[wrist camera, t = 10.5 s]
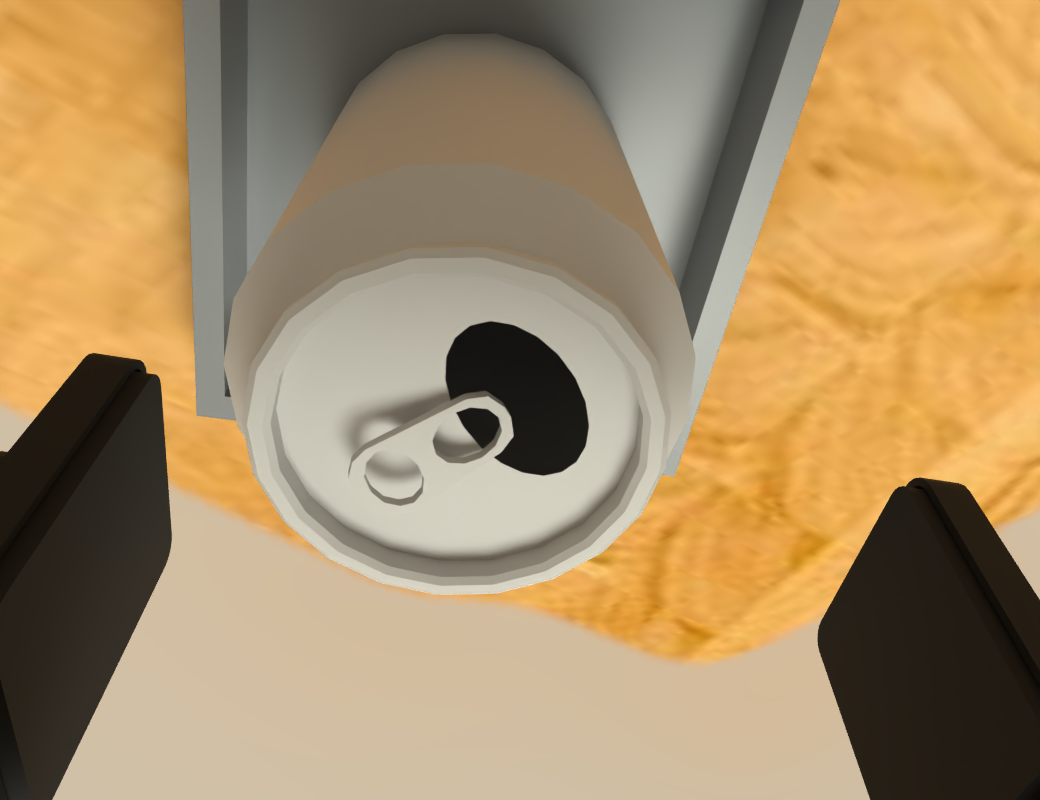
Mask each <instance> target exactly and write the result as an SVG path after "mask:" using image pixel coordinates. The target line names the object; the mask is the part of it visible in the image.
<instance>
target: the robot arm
mask: <svg viewBox="0 0 1040 800" xmlns="http://www.w3.org/2000/svg"><path fill="white" fill-rule="evenodd" d="M171 540H172V532H171V519H170V504H169V490H168V476H167V462H166V448H165V434H164V421H163V407H162V393H161V383H160V379H159V377H158V376H157V375H155V374H148V373H146V367H145V365H144V363H143V362H142V361H140V360H136V359H129V358H122V357H116V356H109V355H103V354H96V353H92V354H89V355H87V356H86V357H85V358H84V359H83V360H82V362H81V363H80V364H79V365H78V367H77V368H76V369H75V370H74V371H73V373H72V374H71V375H70V376H69V378H68V379H67V380H66V381H65V382H64V384H63V385H62V386H61V387H60V389H59V390H58V391H57V392H56V394H55V395H54V396H53V397H52V398H51V400H50V401H49V402H48V403H47V405H46V406H45V407H44V408H43V409H42V411H41V412H40V413H39V414H38V416H37V417H36V418H35V419H34V421H33V422H32V423H31V424H30V425H29V427H28V428H27V429H26V430H25V432H24V433H23V434H22V435H21V437H20V438H19V439H18V440H17V442H16V443H15V444H14V445H13V446H12V448H11V449H10V450H9V451H8V452H4V451H0V800H52V799H53V797H54V795H55V793H56V791H57V789H58V787H59V785H60V783H61V780H62V778H63V776H64V774H65V772H66V770H67V768H68V766H69V764H70V762H71V760H72V757H73V756H74V754H75V752H76V749H77V747H78V745H79V743H80V741H81V739H82V737H83V735H84V733H85V731H86V729H87V727H88V725H89V723H90V720H91V719H92V716H93V714H94V712H95V710H96V708H97V706H98V704H99V702H100V700H101V698H102V696H103V694H104V692H105V689H106V687H107V685H108V683H109V681H110V679H111V677H112V675H113V673H114V671H115V669H116V667H117V665H118V662H119V661H120V659H121V657H122V654H123V652H124V650H125V648H126V646H127V644H128V642H129V640H130V638H131V636H132V633H133V632H134V630H135V628H136V625H137V623H138V621H139V619H140V617H141V615H142V613H143V611H144V609H145V607H146V605H147V603H148V601H149V599H150V597H151V595H152V592H153V590H154V588H155V586H156V584H157V582H158V580H159V578H160V576H161V574H162V572H163V569H164V567H165V565H166V563H167V560H168V557H169V553H170V548H171ZM818 647H819V652H820V654H821V657H822V660H823V663H824V666H825V669H826V672H827V675H828V678H829V681H830V684H831V687H832V689H833V692H834V695H835V698H836V701H837V704H838V707H839V710H840V713H841V715H842V719H843V722H844V724H845V727H846V730H847V733H848V736H849V739H850V742H851V745H852V748H853V750H854V754H855V757H856V759H857V762H858V765H859V768H860V771H861V774H862V777H863V780H864V783H865V786H866V789H867V791H868V794H869V797H870V800H1040V600H1039V598H1038V596H1037V595H1036V593H1035V592H1034V590H1033V589H1032V587H1031V586H1030V584H1029V583H1028V581H1027V579H1026V578H1025V576H1024V575H1023V573H1022V572H1021V570H1020V569H1019V567H1018V565H1017V564H1016V562H1015V561H1014V559H1013V558H1012V556H1011V555H1010V553H1009V551H1008V550H1007V548H1006V547H1005V545H1004V544H1003V542H1002V541H1001V539H1000V538H999V536H998V534H997V533H996V531H995V530H994V528H993V527H992V525H991V524H990V522H989V520H988V519H987V517H986V516H985V514H984V513H983V511H982V510H981V508H980V506H979V505H978V503H977V502H976V500H975V499H974V497H973V496H972V494H971V492H970V491H969V490H968V489H967V488H966V487H965V486H964V485H962V484H959V483H953V482H946V481H940V480H933V479H926V478H914V479H913V480H911V481H910V482H909V483H908V484H907V485H906V487H905V486H902V487H898V488H897V489H895V491H894V492H893V493H892V495H891V497H890V498H889V500H888V502H887V504H886V506H885V507H884V509H883V511H882V513H881V515H880V516H879V518H878V520H877V522H876V524H875V525H874V527H873V529H872V531H871V533H870V534H869V536H868V538H867V540H866V541H865V543H864V545H863V547H862V549H861V550H860V552H859V554H858V556H857V558H856V559H855V561H854V563H853V565H852V567H851V568H850V570H849V572H848V574H847V576H846V577H845V579H844V581H843V583H842V585H841V586H840V588H839V590H838V592H837V594H836V595H835V597H834V599H833V601H832V603H831V604H830V606H829V608H828V610H827V611H826V613H825V615H824V617H823V619H822V620H821V623H820V625H819V630H818Z"/></svg>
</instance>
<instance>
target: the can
mask: <svg viewBox="0 0 1040 800" xmlns="http://www.w3.org/2000/svg"><path fill="white" fill-rule="evenodd" d="M695 359H696V355H695V351H694V347H693V343H692V339H691V335H690V331H689V328H688V324H687V320H686V316H685V312H684V308H683V304H682V300H681V296H680V292H679V290H678V287H677V285H676V282H675V280H674V277H673V275H672V272H671V270H670V267H669V265H668V262H667V260H666V257H665V255H664V252H663V250H662V247H661V245H660V242H659V240H658V237H657V235H656V232H655V230H654V227H653V225H652V222H651V220H650V217H649V215H648V212H647V210H646V207H645V205H644V202H643V200H642V197H641V195H640V192H639V190H638V187H637V185H636V182H635V180H634V177H633V175H632V172H631V170H630V167H629V165H628V162H627V160H626V157H625V155H624V152H623V150H622V147H621V145H620V142H619V140H618V137H617V135H616V132H615V130H614V127H613V125H612V122H611V120H610V119H609V117H608V116H607V114H606V113H605V111H604V110H603V108H602V107H601V105H600V104H599V102H598V101H597V99H596V98H595V96H594V95H593V93H592V92H591V90H590V89H589V87H588V86H587V84H586V83H585V81H584V80H583V79H581V78H580V77H579V76H577V75H576V74H575V73H574V72H572V71H571V70H570V69H568V68H567V67H566V66H564V65H563V64H562V63H560V62H559V61H558V60H557V59H555V58H554V57H553V56H551V55H550V54H549V53H547V52H546V51H545V50H543V49H540V48H537V47H534V46H531V45H528V44H525V43H522V42H519V41H516V40H513V39H510V38H507V37H504V36H501V35H498V34H443V35H440V36H437V37H435V38H432V39H429V40H426V41H424V42H421V43H418V44H415V45H413V46H410V47H407V48H405V49H402V50H399V51H396V52H395V53H394V54H393V55H392V56H390V57H389V58H388V59H387V60H386V61H384V62H383V63H382V64H381V65H380V66H378V67H377V68H376V69H375V70H374V71H372V72H371V73H370V74H369V75H367V76H366V77H365V78H364V79H363V80H361V81H360V82H359V83H358V85H357V86H356V88H355V90H354V91H353V93H352V95H351V97H350V98H349V100H348V102H347V103H346V105H345V107H344V108H343V110H342V112H341V113H340V115H339V117H338V119H337V120H336V122H335V124H334V125H333V127H332V129H331V131H330V132H329V134H328V136H327V137H326V139H325V141H324V143H323V144H322V146H321V148H320V150H319V151H318V153H317V155H316V157H315V158H314V160H313V162H312V164H311V165H310V167H309V169H308V170H307V172H306V174H305V176H304V177H303V179H302V181H301V183H300V184H299V186H298V188H297V190H296V191H295V193H294V195H293V197H292V198H291V200H290V202H289V203H288V205H287V207H286V209H285V210H284V212H283V214H282V216H281V217H280V219H279V221H278V223H277V224H276V226H275V228H274V230H273V231H272V233H271V235H270V236H269V238H268V240H267V242H266V243H265V245H264V247H263V249H262V250H261V252H260V254H259V256H258V257H257V259H256V261H255V262H254V264H253V266H252V268H251V269H250V271H249V273H248V275H247V276H246V278H245V280H244V282H243V283H242V285H241V287H240V289H239V290H238V292H237V294H236V295H235V297H234V299H233V304H232V311H231V318H230V324H229V331H228V338H227V344H226V351H225V357H224V368H225V373H226V377H227V382H228V386H229V390H230V395H231V399H232V404H233V408H234V412H235V417H236V421H237V425H238V427H239V429H240V430H241V432H242V433H243V435H244V437H245V439H246V444H247V448H248V453H249V457H250V462H251V466H252V471H253V475H254V476H255V478H256V479H257V481H258V482H259V484H260V486H261V487H262V489H263V490H264V492H265V493H266V495H267V496H268V498H269V500H270V501H271V503H272V504H273V506H274V507H275V509H276V510H277V512H278V514H279V515H280V517H281V518H282V520H283V521H284V522H285V523H286V524H287V525H288V526H290V527H291V528H292V529H293V530H294V531H296V532H297V533H298V534H299V535H300V536H302V537H303V538H304V539H305V540H306V541H307V542H309V543H310V544H311V545H312V546H313V547H315V548H316V549H317V550H318V551H319V552H321V553H322V554H323V555H324V556H325V557H327V558H328V559H330V560H332V561H335V562H337V563H339V564H341V565H343V566H345V567H347V568H349V569H352V570H354V571H356V572H358V573H360V574H362V575H364V576H366V577H369V578H371V579H373V580H375V581H377V582H379V583H383V584H388V585H393V586H398V587H402V588H407V589H412V590H417V591H422V592H427V593H431V594H436V595H454V594H497V593H501V592H505V591H509V590H513V589H517V588H521V587H525V586H529V585H533V584H537V583H541V582H544V581H548V580H552V579H554V578H556V577H558V576H560V575H562V574H564V573H565V572H567V571H569V570H571V569H573V568H575V567H577V566H578V565H580V564H582V563H584V562H586V561H588V560H590V559H591V558H593V557H595V556H597V555H599V554H601V553H602V552H603V551H604V550H605V549H606V548H608V547H609V546H610V545H611V544H612V543H613V542H614V541H615V540H616V539H617V538H618V537H619V536H620V535H621V534H622V533H623V532H624V531H625V530H626V529H627V528H628V527H629V526H630V525H631V524H632V523H633V522H634V521H635V520H636V519H637V518H638V517H639V516H640V515H641V514H642V512H643V510H644V508H645V506H646V504H647V502H648V500H649V499H650V497H651V495H652V493H653V491H654V489H655V487H656V485H657V483H658V481H659V479H660V477H661V475H662V473H663V471H664V469H665V467H666V460H667V458H668V456H669V454H670V453H671V451H672V449H673V447H674V445H675V443H676V441H677V439H678V437H679V435H680V433H681V431H682V429H683V427H684V425H685V423H686V421H687V419H688V416H689V408H690V400H691V391H692V383H693V375H694V367H695Z"/></svg>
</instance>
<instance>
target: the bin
mask: <svg viewBox="0 0 1040 800" xmlns="http://www.w3.org/2000/svg"><path fill="white" fill-rule="evenodd" d="M839 2H840V0H183V19H184V49H185V79H186V109H187V139H188V169H189V199H190V229H191V259H192V289H193V319H194V349H195V379H196V409H197V416H203V417H211V418H219V419H227V420H235V421H236V417H235V412H234V408H233V404H232V399H231V395H230V390H229V386H228V382H227V377H226V373H225V368H224V357H225V351H226V344H227V338H228V331H229V324H230V318H231V311H232V304H233V299H234V297H235V295H236V294H237V292H238V290H239V289H240V287H241V285H242V283H243V282H244V280H245V278H246V276H247V275H248V273H249V271H250V269H251V268H252V266H253V264H254V262H255V261H256V259H257V257H258V256H259V254H260V252H261V250H262V249H263V247H264V245H265V243H266V242H267V240H268V238H269V236H270V235H271V233H272V231H273V230H274V228H275V226H276V224H277V223H278V221H279V219H280V217H281V216H282V214H283V212H284V210H285V209H286V207H287V205H288V203H289V202H290V200H291V198H292V197H293V195H294V193H295V191H296V190H297V188H298V186H299V184H300V183H301V181H302V179H303V177H304V176H305V174H306V172H307V170H308V169H309V167H310V165H311V164H312V162H313V160H314V158H315V157H316V155H317V153H318V151H319V150H320V148H321V146H322V144H323V143H324V141H325V139H326V137H327V136H328V134H329V132H330V131H331V129H332V127H333V125H334V124H335V122H336V120H337V119H338V117H339V115H340V113H341V112H342V110H343V108H344V107H345V105H346V103H347V102H348V100H349V98H350V97H351V95H352V93H353V91H354V90H355V88H356V86H357V85H358V83H359V82H360V81H361V80H363V79H364V78H365V77H366V76H367V75H369V74H370V73H371V72H372V71H374V70H375V69H376V68H377V67H378V66H380V65H381V64H382V63H383V62H384V61H386V60H387V59H388V58H389V57H390V56H392V55H393V54H394V53H395V52H396V51H399V50H402V49H405V48H407V47H410V46H413V45H415V44H418V43H421V42H424V41H426V40H429V39H432V38H435V37H437V36H440V35H443V34H498V35H501V36H504V37H507V38H510V39H513V40H516V41H519V42H522V43H525V44H528V45H531V46H534V47H537V48H540V49H543V50H545V51H546V52H547V53H549V54H550V55H551V56H553V57H554V58H555V59H557V60H558V61H559V62H560V63H562V64H563V65H564V66H566V67H567V68H568V69H570V70H571V71H572V72H574V73H575V74H576V75H577V76H579V77H580V78H581V79H583V80H584V81H585V83H586V84H587V86H588V87H589V89H590V90H591V92H592V93H593V95H594V96H595V98H596V99H597V101H598V102H599V104H600V105H601V107H602V108H603V110H604V111H605V113H606V114H607V116H608V117H609V119H610V120H611V122H612V125H613V127H614V130H615V132H616V135H617V137H618V140H619V142H620V145H621V147H622V150H623V152H624V155H625V157H626V160H627V162H628V165H629V167H630V170H631V172H632V175H633V177H634V180H635V182H636V185H637V187H638V190H639V192H640V195H641V197H642V200H643V202H644V205H645V207H646V210H647V212H648V215H649V217H650V220H651V222H652V225H653V227H654V230H655V232H656V235H657V237H658V240H659V242H660V245H661V247H662V250H663V252H664V255H665V257H666V260H667V262H668V265H669V267H670V270H671V272H672V275H673V277H674V280H675V282H676V285H677V287H678V290H679V292H680V296H681V300H682V304H683V308H684V312H685V316H686V320H687V324H688V328H689V331H690V335H691V339H692V343H693V347H694V351H695V355H696V359H695V367H694V375H693V383H692V391H691V400H690V408H689V416H688V419H687V421H686V423H685V425H684V427H683V429H682V431H681V433H680V435H679V437H678V439H677V441H676V443H675V445H674V447H673V449H672V451H671V453H670V454H669V456H668V458H667V460H666V467H665V469H664V471H663V473H662V475H667V476H675V473H676V470H677V468H678V465H679V462H680V459H681V456H682V453H683V450H684V447H685V445H686V442H687V439H688V436H689V433H690V430H691V427H692V424H693V422H694V419H695V416H696V413H697V410H698V407H699V404H700V401H701V399H702V396H703V393H704V390H705V387H706V384H707V381H708V378H709V376H710V373H711V370H712V367H713V364H714V361H715V358H716V356H717V353H718V350H719V347H720V344H721V341H722V338H723V335H724V333H725V330H726V327H727V324H728V321H729V318H730V315H731V312H732V310H733V307H734V304H735V301H736V298H737V295H738V292H739V289H740V287H741V284H742V281H743V278H744V275H745V272H746V269H747V266H748V264H749V261H750V258H751V255H752V252H753V249H754V246H755V244H756V241H757V238H758V235H759V232H760V229H761V226H762V223H763V221H764V218H765V215H766V212H767V209H768V206H769V203H770V200H771V198H772V195H773V192H774V189H775V186H776V183H777V180H778V177H779V175H780V172H781V169H782V166H783V163H784V160H785V157H786V155H787V152H788V149H789V146H790V143H791V140H792V137H793V134H794V132H795V129H796V126H797V123H798V120H799V117H800V114H801V111H802V109H803V106H804V103H805V100H806V97H807V94H808V91H809V88H810V86H811V83H812V80H813V77H814V74H815V71H816V68H817V65H818V63H819V60H820V57H821V54H822V51H823V48H824V45H825V43H826V40H827V37H828V34H829V31H830V28H831V25H832V22H833V20H834V17H835V14H836V11H837V8H838V5H839Z"/></svg>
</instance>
